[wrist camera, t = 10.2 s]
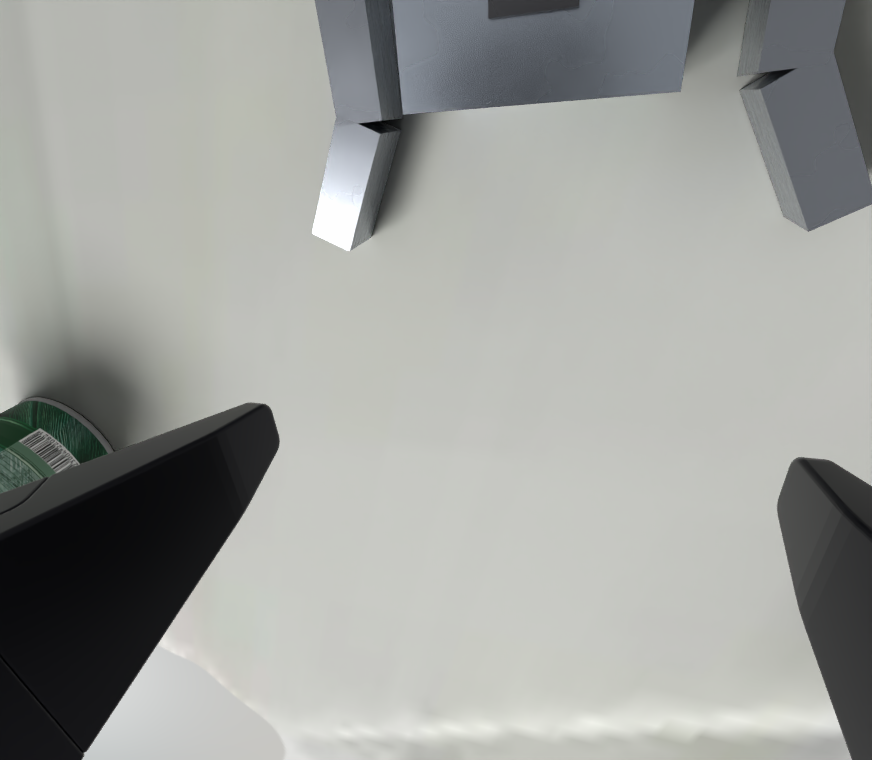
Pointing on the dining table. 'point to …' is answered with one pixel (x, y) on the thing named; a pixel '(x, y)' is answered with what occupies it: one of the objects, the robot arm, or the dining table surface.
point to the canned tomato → (44, 441)
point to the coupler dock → (764, 99)
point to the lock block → (536, 51)
